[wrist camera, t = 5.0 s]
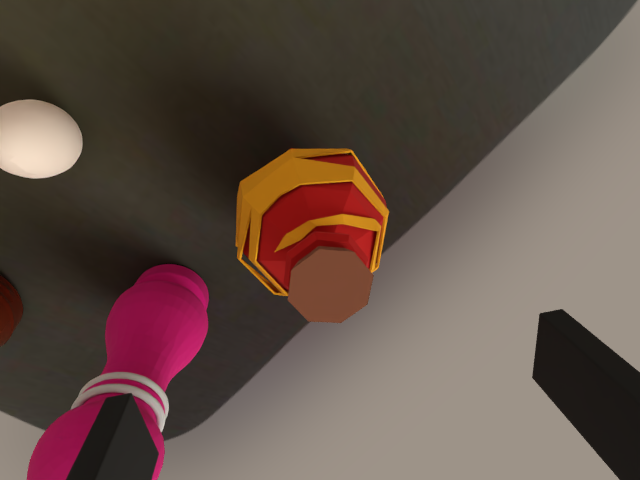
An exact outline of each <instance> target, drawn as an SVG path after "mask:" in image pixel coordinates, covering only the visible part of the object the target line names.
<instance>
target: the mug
mask: <svg viewBox="0 0 640 480" xmlns="http://www.w3.org/2000/svg"><path fill="white" fill-rule="evenodd" d="M22 314H23V304H22V300H21V298H20V295H19V294H18V292H17V290H16V289H15V288H14V286H13V285H12V284H11V283H10V282H9V281H8V280H7V279H5V278H4V277H3V276H1V275H0V347H1V346H2V345H3V344H5V343H6V342H7V341H8V339H9V338H10V337H11V335H12V333H13V331H14V330H15V328H16V326H17V325H18V324H19V322H20V320H21V318H22Z"/></svg>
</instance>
